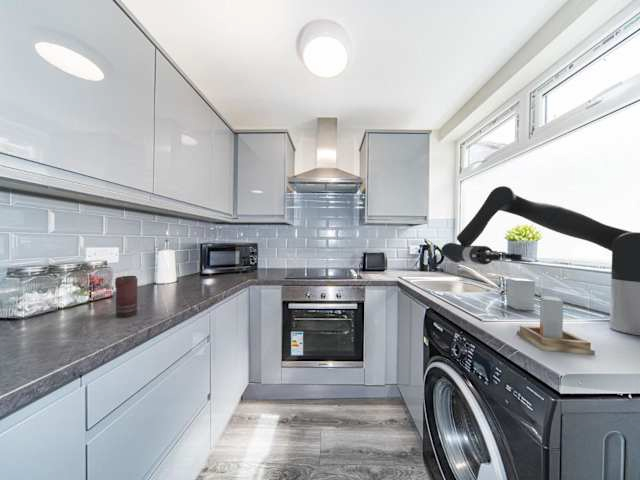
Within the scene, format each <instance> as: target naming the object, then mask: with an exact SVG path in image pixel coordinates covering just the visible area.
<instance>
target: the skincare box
mask: <svg viewBox="0 0 640 480" xmlns="http://www.w3.org/2000/svg"><path fill="white" fill-rule="evenodd" d="M539 305H540V307H539V308H540V309H539V327H540V335H542V336H543V337H545V338H553V339H562V330H563V328H564V327H563V325H564V324H563V321H564V301H563V300H562V299H561V298H560V297H559V296H549V295H543V294H542V295H540V304H539Z"/></svg>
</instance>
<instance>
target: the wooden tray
mask: <svg viewBox="0 0 640 480" xmlns="http://www.w3.org/2000/svg"><path fill="white" fill-rule="evenodd" d="M516 334H517V335H518V336H520V337H521V338H523V339H525V340H526V341H528V342H529V343H531V344H533V345H534V346H535V347H538V349H541V350H542V351H548V352H549V351H551V352H561V353H572V354H583V355H585V354H586V355H595V354H596V353H595V352H596V351H595V349H593V348H591V345H592V343H591V342H590V341H587V340H585V339H583V338H581V337H578V336H576V335H574V334H572V333H570V332H568V331H566V330H564V329H562V339H553V338H545V337H543V336H542V335H540V326H531V325H519V330H516Z"/></svg>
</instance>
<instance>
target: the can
mask: <svg viewBox="0 0 640 480" xmlns="http://www.w3.org/2000/svg"><path fill="white" fill-rule="evenodd" d="M114 284H115V285H114V287H115V316H116V318H119V319H120V318H121V319H123V318H130V317H134V316H136V315H137V313H138V277H137V276H136V275H123V276H117V277H116V278H115V281H114Z"/></svg>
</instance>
